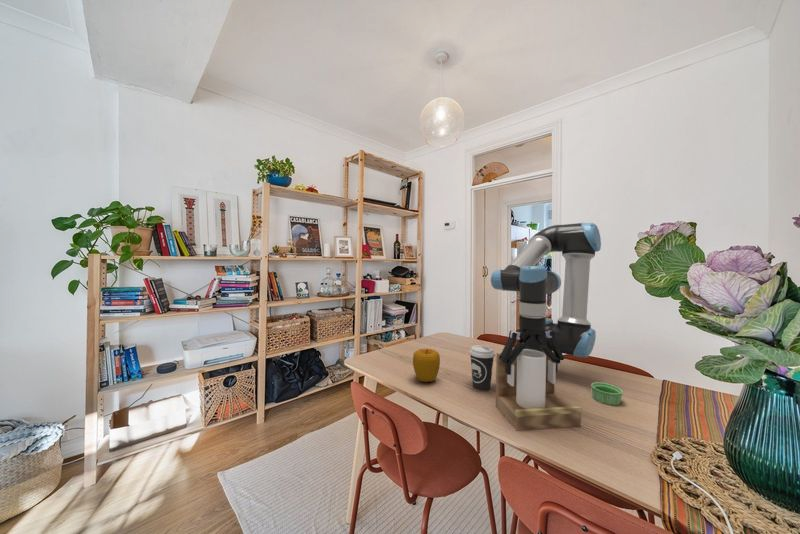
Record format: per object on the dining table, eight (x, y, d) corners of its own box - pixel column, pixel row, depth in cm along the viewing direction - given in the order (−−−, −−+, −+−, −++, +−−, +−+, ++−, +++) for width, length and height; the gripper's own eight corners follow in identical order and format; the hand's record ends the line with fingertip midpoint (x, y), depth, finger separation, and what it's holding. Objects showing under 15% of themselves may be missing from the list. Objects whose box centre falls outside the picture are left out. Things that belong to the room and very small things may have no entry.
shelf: (551, 403, 97) (552, 351, 97) (580, 426, 84) (582, 365, 83) (495, 406, 95) (496, 352, 94) (516, 430, 82) (518, 368, 81)
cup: (516, 407, 86) (517, 355, 86) (515, 395, 94) (516, 347, 94) (546, 412, 84) (547, 359, 83) (543, 400, 91) (544, 350, 91)
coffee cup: (496, 394, 104) (496, 353, 103) (469, 391, 105) (469, 351, 105) (492, 382, 113) (493, 345, 113) (468, 380, 115) (468, 344, 114)
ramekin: (615, 409, 94) (615, 396, 94) (586, 397, 101) (586, 385, 101) (626, 402, 99) (627, 389, 98) (597, 391, 106) (598, 380, 106)
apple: (420, 388, 108) (420, 354, 107) (408, 377, 118) (408, 346, 117) (445, 383, 112) (445, 351, 112) (431, 373, 122) (431, 343, 122)
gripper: (561, 312, 93) (560, 376, 94) (488, 314, 90) (487, 380, 91) (578, 317, 86) (576, 386, 86) (499, 319, 83) (498, 390, 84)
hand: (531, 383), depth 89 cm, fingers open, 13 cm apart
